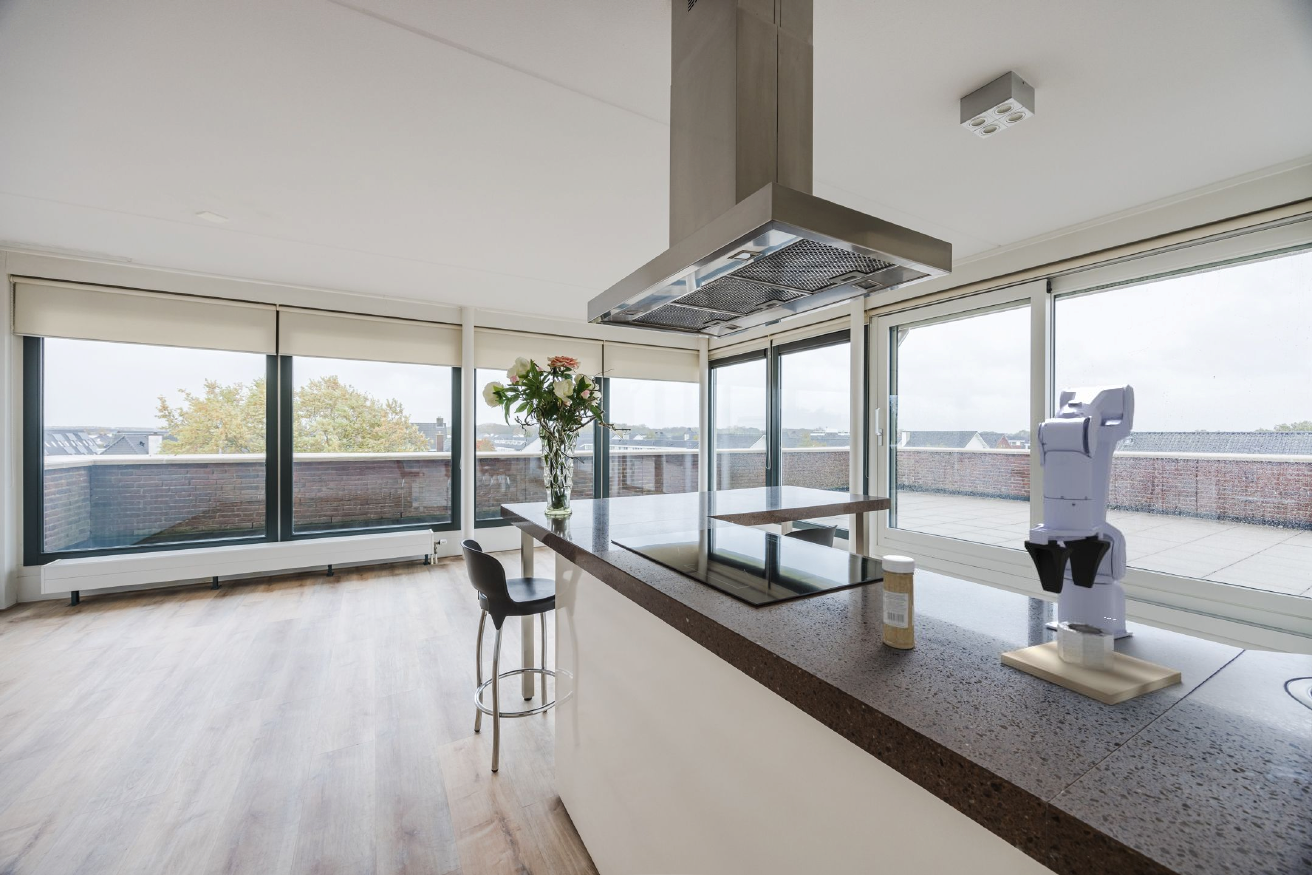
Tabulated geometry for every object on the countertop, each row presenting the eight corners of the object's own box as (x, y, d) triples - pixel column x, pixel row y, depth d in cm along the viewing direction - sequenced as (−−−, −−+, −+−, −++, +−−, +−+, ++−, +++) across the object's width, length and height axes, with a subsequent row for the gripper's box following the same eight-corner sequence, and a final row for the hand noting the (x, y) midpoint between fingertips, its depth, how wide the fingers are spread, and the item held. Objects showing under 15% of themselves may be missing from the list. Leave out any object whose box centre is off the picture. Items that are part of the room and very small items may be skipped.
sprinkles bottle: (921, 645, 79) (920, 558, 79) (904, 652, 76) (903, 562, 77) (893, 636, 83) (892, 553, 83) (876, 642, 80) (875, 556, 80)
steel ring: (1074, 651, 74) (1073, 619, 74) (1120, 666, 69) (1120, 632, 69) (1050, 657, 72) (1050, 625, 72) (1096, 673, 67) (1096, 638, 67)
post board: (1069, 645, 79) (1068, 608, 79) (1181, 681, 67) (1180, 637, 67) (1000, 662, 73) (1000, 622, 73) (1110, 705, 61) (1110, 656, 61)
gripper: (1066, 494, 83) (1067, 578, 83) (1007, 497, 78) (1008, 587, 78) (1119, 498, 77) (1120, 589, 77) (1059, 501, 71) (1060, 600, 71)
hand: (1067, 589), depth 77 cm, fingers open, 7 cm apart
